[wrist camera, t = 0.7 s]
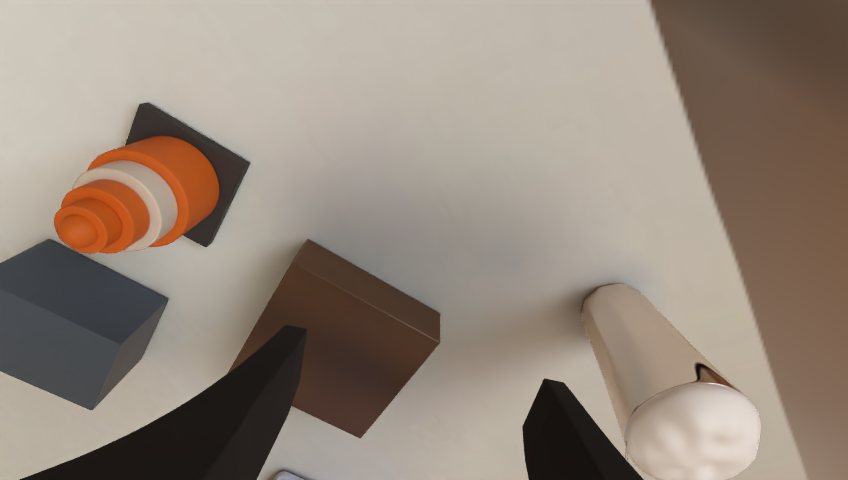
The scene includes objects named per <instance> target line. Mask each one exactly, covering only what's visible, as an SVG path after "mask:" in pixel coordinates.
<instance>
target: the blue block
mask: <svg viewBox="0 0 848 480" xmlns="http://www.w3.org/2000/svg"><path fill="white" fill-rule="evenodd" d="M167 302H168V298H166V297H164V296H162V295H160V294H158V293H156V292H154V291H152V290H150V289H148V288H146V287H144V286H142V285H140V284H138V283H136V282H134V281H132V280H130V279H128V278H126V277H124V276H122V275H120V274H118V273H116V272H114V271H112V270H110V269H108V268H106V267H104V266H102V265H100V264H98V263H96V262H94V261H92V260H90V259H88V258H86V257H84V256H82V255H80V254H78V253H76V252H74V251H72V250H70V249H68V248H66V247H64V246H62V245H60V244H58V243H56V242H54V241H52V240H50V239H48V240H46V241H44V242H42V243H40V244H38V245H36V246H34V247H32V248H30V249H28V250H26V251H24V252H22V253H20V254H18V255H16V256H14V257H12V258H10V259H8V260H6V261H4V262H2V263H0V371H1V372H3V373H6V374H8V375H10V376H13V377H15V378H17V379H20V380H22V381H24V382H27V383H29V384H31V385H34V386H36V387H38V388H40V389H43V390H45V391H47V392H50V393H52V394H54V395H57V396H59V397H61V398H64V399H66V400H68V401H71V402H73V403H75V404H78V405H80V406H82V407H84V408H87V409H89V410H93V409H94V408H95V407H96V406H97V405H98V404H99V403H100V402H101V401H102V400H103V399H104V398H105V397H106V395H107V394H108V393H109V392H110V391H111V390H112V389H113V388H114V387H115V386H116V385H117V384H118V383H119V382H120V381H121V380H122V379H123V377H124V376H125V375H126V374H127V373H128V372H129V371H130V370H131V369H132V368H133V367H134V366H135V365H136V364H137V363H138V362H139V361H140V360H141V358H142V356H143V354H144V352H145V350H146V347H147V345H148V343H149V341H150V339H151V337H152V334H153V332H154V330H155V328H156V326H157V323H158V321H159V319H160V317H161V315H162V313H163V310H164V308H165V306H166V304H167Z"/></svg>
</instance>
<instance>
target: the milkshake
mask: <svg viewBox="0 0 848 480" xmlns="http://www.w3.org/2000/svg"><path fill="white" fill-rule="evenodd" d="M581 319H582V321H583V324H584V327H585V330H586V332H587V335H588V338H589V340H590V343H591V346H592V349H593V351H594V354H595V357H596V359H597V362H598V365H599V368H600V370H601V373H602V376H603V379H604V381H605V384H606V387H607V390H608V393H609V397H610V400H611V403H612V406H613V409H614V412H615V415H616V418H617V421H618V424H619V428H620V431H621V434H622V437H623V440H624V443H625V446H626V453H625V459H626V460H627V462H628V454H629V456H630V458H631V459H632V461H633V462H634V463H635V465H636V466H637V467H638V468H639V469H641V470H642V471H643V472H645V473H647V474H648V475H650V476H652V477H654V478H657V479H659V480H727V479H730V478H732V477H734V476H736V475H737V474H738V473H740V472H741V471H743V470H744V469H745V468H747V467H748V466H749V465H750V464H751V463H752V462H753V460H754V459H755V457H756V455H757V451H758V447H759V441H760V434H761V422H760V417H759V414H758V412H757V410H756V408H755V407H754V405H753V404H752V403H751V401H750V400H749V399H748V398H747V397H745V396H744V395H743V394H742V393H741V392H740V391H739V390H738V389H737V388H736V387H735V386H734V385H733V384H732V383H731V382H730V381H729V380H728V379H727V378H726V377H725V376H724V375H723V374H721V373H720V372H719V371H718V370H717V369H716V368H715V367H714V366H713V365H712V364H711V363H710V362H709V361H708V360H707V359H706V358H705V357H704V356H703V355H702V354H701V353H700V352H699V351H698V350H697V349H696V348H695V347H694V346H693V345H692V344H691V343H690V342H689V341H688V340H687V339H686V338H685V337H684V336H683V335H682V334H681V333H680V332H679V331H678V330H677V329H676V328H675V327H674V326H673V325H672V324H671V323H670V322H669V321H668V320H667V319H666V318H665V317H664V316H663V315H662V314H661V313H660V312H659V311H658V310H657V309H656V307H655V306H654V305H653V304H652V303H651V302H650V301H649V300H648V299H647V298H646V297H645V296H644V295H643V294H642V293H641V292H640V291H639V290H637V289H634V288H632V287H629V286H627V285H624V284H622V283H617V284H612V285H607V286H601V287H599V288H598V289H597V290H596V291H594V292H593V293H592V294H591V295H590V296H588V297H587V298H586V299H585V301H584V305H583V309H582V312H581Z"/></svg>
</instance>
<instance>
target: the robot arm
mask: <svg viewBox="0 0 848 480" xmlns="http://www.w3.org/2000/svg"><path fill="white" fill-rule="evenodd" d="M306 335H307V329H305V328H301V327H296V326H291V325H285V326H283V327H282V328H281V329H280V330H279V331H278V332H277V333H276V334H274V335H273V336H272V337H271V338H270V339H269V340H268V341H267V342H266V343H265V344H263V345H262V346H261V347H260V348H259V349H258V350H257V351H255V352H254V353H253V354H252V355H251V356H249V357H248V358H247V359H246V360H244V361H243V362H242V363H241V364H240V365H238V366H237V367H236V368H235V369H233V370H232V371H231V372H229V373H228V374H227V375H225V376H224V377H222V378H221V379H220V380H218V381H217V382H216V383H214V384H213V385H211V386H210V387H209V388H207V389H206V390H204V391H203V392H201V393H200V394H198V395H197V396H195V397H194V398H192V399H191V400H189V401H187V402H186V403H184V404H183V405H181V406H179V407H178V408H176V409H174V410H173V411H171V412H169V413H167V414H166V415H164V416H162V417H160V418H159V419H157V420H155V421H153V422H151V423H150V424H148V425H146V426H144V427H142V428H140V429H138V430H136V431H134V432H132V433H130V434H128V435H126V436H124V437H122V438H120V439H118V440H116V441H113V442H111V443H109V444H107V445H105V446H103V447H101V448H98V449H96V450H94V451H92V452H89V453H87V454H85V455H82V456H80V457H78V458H75V459H73V460H70V461H67V462H65V463H62V464H60V465H57V466H54V467H52V468H49V469H47V470H44V471H41V472H39V473H36V474H34V475H31V476H28V477H25V478H23V479H20V480H256V479H257V477H258V475H259V473H260V471H261V469H262V467H263V465H264V463H265V461H266V459H267V457H268V455H269V453H270V451H271V449H272V447H273V445H274V443H275V441H276V438H277V436H278V434H279V432H280V430H281V428H282V426H283V424H284V422H285V420H286V418H287V416H288V413H289V411H290V408H291V405H292V402H293V400H294V397H295V394H296V391H297V388H298V385H299V383H300V377H301V370H302V363H303V356H304V349H305V342H306ZM523 441H524V453H525V462H526V467H527V472H528V477H529V480H644V479H643V478H642V477H641V476H640V475H639V474H638V473H637V472H636V471H635V470H634V468H633V467H632V466H631V465H630V464H629V463H628V462H627V460H626V459H625V458H624V457H623V456H622V455H621V454H620V452H619V451H618V450H617V449H616V448H615V446H614V445H613V444H612V443H611V442H610V440H609V439H608V438H607V437H606V435H605V434H604V433H603V432H602V430H601V429H600V428H599V427H598V425H597V424H596V423H595V422H594V420H593V419H592V418H591V416H590V415H589V414H588V413H587V411H586V410H585V409H584V407H583V406H582V405H581V404H580V402H579V401H578V400H577V398H576V397H575V396H574V395H573V393H572V392H571V391H570V390H569V388H568V387H567V386H566V385H565V384H564V383H563V382H559V381H554V380H549V379H544V380H543V382H542V385H541V387H540V389H539V391H538V393H537V396H536V398H535V400H534V402H533V404H532V407H531V409H530V411H529V413H528V416H527V418H526V420H525V422H524V424H523ZM274 480H304V479H302V478H300V477H298V476H295V475H293V474H291V473H288V472H285V471H282V472H279V473H278V474H277V476H276V477H275V478H274Z"/></svg>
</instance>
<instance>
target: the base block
mask: <svg viewBox="0 0 848 480" xmlns="http://www.w3.org/2000/svg"><path fill="white" fill-rule="evenodd" d="M285 325H291V326H296V327H301V328H305V329H307V335H306V342H305V349H304V356H303V363H302V370H301V377H300V383H299V385H298V388H297V391H296V394H295V397H294V400H293V402H292V405H291V406H293V407H295V408H297V409H299V410H302V411H304V412H306V413H308V414H310V415H312V416H314V417H316V418H318V419H320V420H322V421H325V422H327V423H329V424H331V425H333V426H335V427H337V428H339V429H341V430H343V431H345V432H348V433H350V434H352V435H354V436H356V437H358V438H361V437H362V436H363V435H364V434H365V433H366V431H367V430H368V429H369V428H370V427H371V425H372V424H373V423H374V422H375V421H376V419H377V418H378V417H379V416H380V415H381V413H382V412H383V411H384V410H385V409H386V407H387V406H388V405H389V404H390V403H391V401H392V400H393V399H394V398H395V396H396V395H397V394H398V393H399V392H400V390H401V389H402V388H403V387H404V386H405V384H406V383H407V382H408V381H409V380H410V378H411V377H412V376H413V375H414V374H415V372H416V371H417V370H418V369H419V368H420V366H421V365H422V364H423V363H424V362H425V360H426V359H427V358H428V357H429V356H430V354H431V353H432V352H433V351H434V349H435V348H436V347H437V346H438V345H439V343H440V313H438V312H436V311H435V310H433V309H431V308H429V307H427V306H426V305H424V304H422V303H420V302H419V301H417V300H415V299H413V298H412V297H410V296H408V295H406V294H405V293H403V292H401V291H399V290H397V289H396V288H394V287H392V286H390V285H389V284H387V283H385V282H383V281H382V280H380V279H378V278H376V277H375V276H373V275H371V274H369V273H367V272H366V271H364V270H362V269H360V268H359V267H357V266H355V265H353V264H352V263H350V262H348V261H346V260H344V259H343V258H341V257H339V256H337V255H336V254H334V253H332V252H330V251H329V250H327V249H325V248H323V247H322V246H320V245H318V244H316V243H314V242H313V241H311V240H309V239H308V240H307V241H306V242H305V244H304V245H303V247H302V248H301V250H300V251H299V253H298V254H297V256H296V257H295V259H294V260H293V262H292V263H291V265H290V267H289V269H288V270H287V272H286V274H285V275H284V277H283V279H282V281H281V282H280V284H279V286H278V287H277V289H276V291H275V293H274V294H273V296H272V298H271V299H270V301H269V303H268V305H267V306H266V308H265V310H264V312H263V313H262V315H261V317H260V318H259V320H258V322H257V324H256V325H255V327H254V329H253V330H252V332H251V334H250V336H249V337H248V339H247V341H246V342H245V344H244V346H243V348H242V349H241V351H240V353H239V354H238V356H237V358H236V360H235V361H234V363H233V365H232V367H231V368H230V370H229V372H231V371H232V370H233V369H235V368H236V367H237V366H238V365H240V364H241V363H242V362H243V361H244V360H246V359H247V358H248V357H249V356H251V355H252V354H253V353H254V352H255V351H257V350H258V349H259V348H260V347H261V346H262V345H263V344H265V343H266V342H267V341H268V340H269V339H270V338H271V337H272V336H273V335H274V334H276V333H277V332H278V331H279V330H280V329H281V328H282V327H283V326H285ZM229 372H228V373H229ZM228 373H227V374H228Z"/></svg>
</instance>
